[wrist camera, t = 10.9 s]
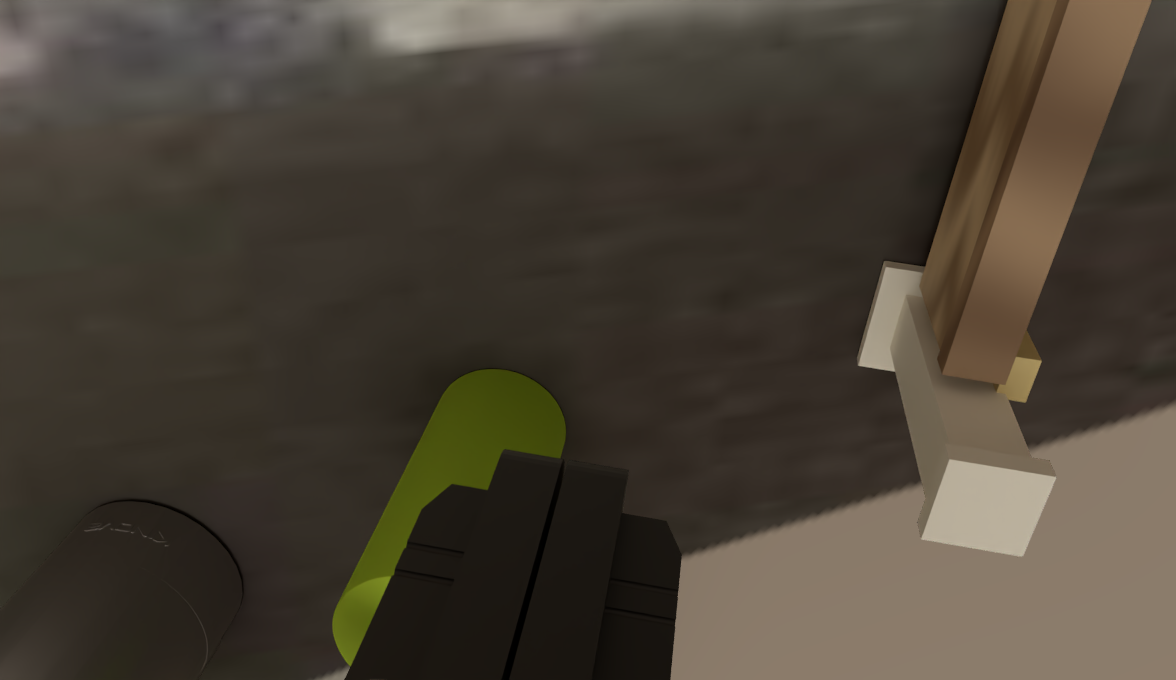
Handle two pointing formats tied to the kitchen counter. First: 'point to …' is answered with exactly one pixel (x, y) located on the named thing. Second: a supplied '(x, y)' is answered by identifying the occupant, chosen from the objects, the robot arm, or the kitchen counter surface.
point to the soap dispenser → (449, 475)
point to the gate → (1022, 174)
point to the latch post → (958, 426)
